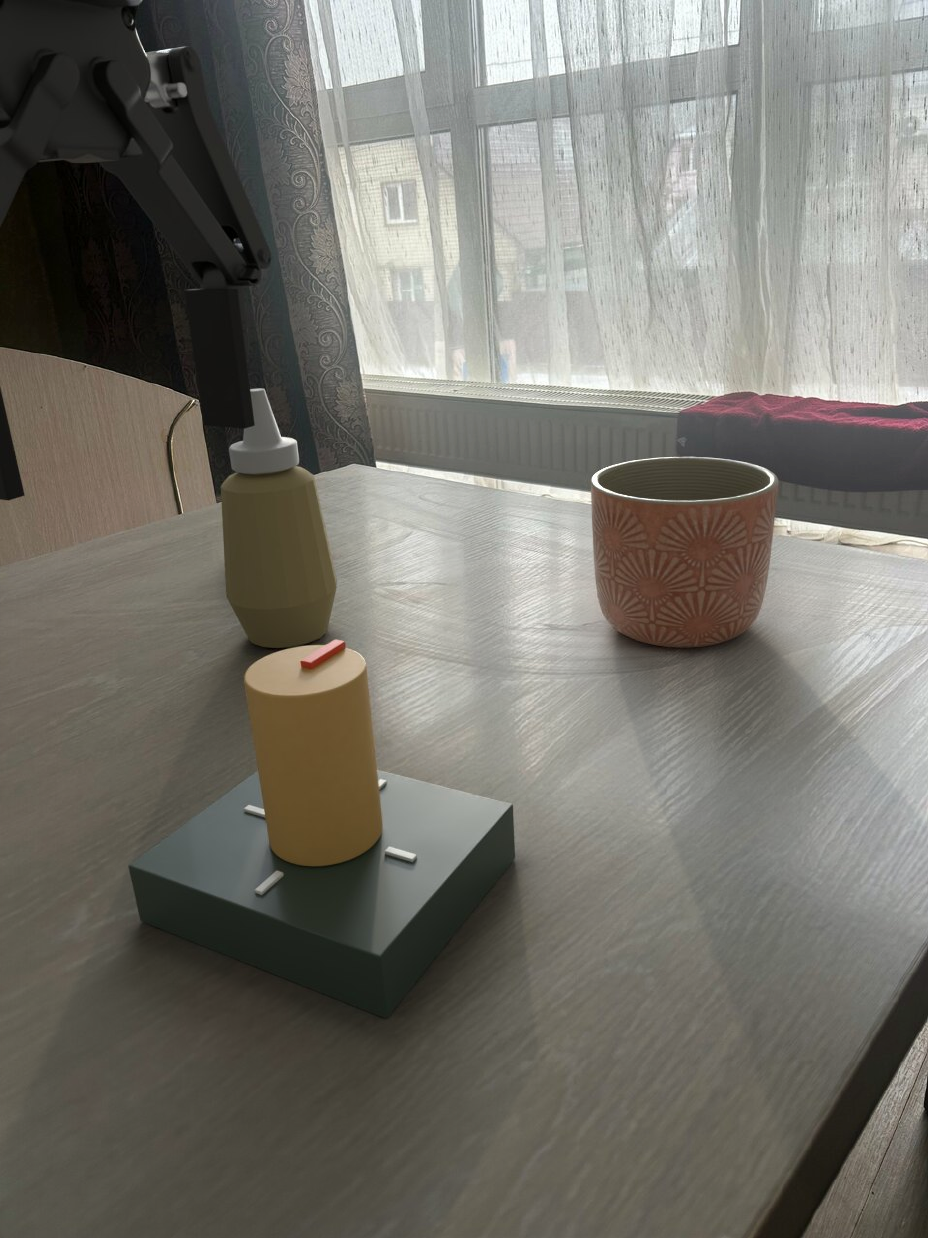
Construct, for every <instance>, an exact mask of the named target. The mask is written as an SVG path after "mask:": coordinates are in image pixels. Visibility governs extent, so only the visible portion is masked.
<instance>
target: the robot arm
mask: <svg viewBox="0 0 928 1238" xmlns="http://www.w3.org/2000/svg"><path fill="white" fill-rule="evenodd" d="M142 2H143V0H0V228H1V227H2V224H3V223H4V220H5V219H6V216H7V213H8V212H9V209H10V207H11V205H12V202H13V200H14V198H15V196H16V194H17V192H18V189H19V187H20V185H21V184H22V181H23V179H24V176H25V175H26V173H27V172H28V170H30V169H32V168H33V167H35V166H36V165H37V164H38V163H43V162H45V163H46V162H55V161H56V162H57V161H66V162H69V163H71V164H72V163H73V164H91V163H92V164H93V163H98V164H99V165H100V166H101V168H103V169H104V170H105V171H106V172H108V173H110V174H111V175H114V176H116V177H117V178H118V180H120V181H121V182H122V184H123V185H124V187H125V188H126V190H127V191H128V192H129V193H130V195H131V196H132V197H133V198H134V200H135V201H136V203H137V204H138V205H139V207H140V208H141V209H142V211H143V212H144V213H145V214H146V216H147V217H148V218H149V220H150V221H151V223H152V224H153V226H154V227H155V228H156V229H157V230H158V232H159V233H160V235H161V236H162V238H164V240H165V241H166V243H167V244H168V245H169V246H170V248H171V249H172V250H173V252H174V253H175V255H177V257H178V259H179V260H180V261H181V262H182V264H183V265H184V266H185V267H186V269H187V270H188V271H189V273H190V274H191V276H192V277H193V278H194V279H195V281H196V282H197V283H198V284H199V285H200V286H202V287H203V288H192V289H191V288H190V289H184V290H183V292H184V300H185V306H186V307H185V308H186V313H187V319H188V326H189V327H188V328H189V333H190V339H191V340H190V342H191V348H192V353H193V361H194V367H195V374H196V381H197V387H198V388H197V389H198V393H199V394H198V395H199V396H198V397H199V401H200V409H201V415H202V422H203V426H209V427H219V428H232V429H233V428H234V429H243V430H244V429H245V428H248V427H252V426H255V423H254V415H253V407H252V399H251V392H250V389H251V385H250V376H249V368H248V362H247V355H248V354H249V353H250V344H251V341H250V333H249V327H248V326H249V325H248V322H247V321H248V317H247V308H246V307H247V306H246V301H245V291H244V289H245V287H256V286H258V285H259V284H260V283H261V280H262V270H266V269H268V268H269V267H270V266H271V263H272V253H271V252H272V251H271V249H270V246H269V244H268V241H267V239H266V237H265V235H264V232H263V230H262V228H261V225H260V223H259V220H258V218H257V216H256V214H255V212H254V209H253V206H252V204H251V202H250V199H249V197H248V195H247V192H246V190H245V188H244V185H243V183H242V180H241V177H240V176H239V175H240V174H239V173H238V171H237V168H236V166H235V163H234V161H233V159H232V157H231V155H230V152H229V150H228V148H227V145H226V143H225V139H224V137H223V136H222V133H221V130H220V128H219V126H218V124H217V121H216V119H215V116H214V114H213V111H212V110H211V107H210V105H209V99H208V93H207V89H206V85H205V84H206V83H205V79H204V72H203V68H202V63H201V60H200V57H199V54H198V53H197V52H196V50H195V49H194V48H193V46H189V45H185V46H180V47H174V48H167V49H162V50H155V51H148V52H145V50H144V49H145V48H144V47H143V45H142V42H141V40H140V37H139V35H138V31H137V27H136V15H137V11H138V9H139V6H140V4H141V3H142ZM236 239H239V242H240V243H237V241H236ZM2 392H3V391H2V388H1V387H0V500H1V501H8V502H9V501H12V500H15V499H18V498H22V497H25V495H26V493H25V490H24V485H23V481H22V476H21V472H20V469H19V464H18V463H19V462H18V460H17V454H16V450H15V446H14V441H13V436H12V433H11V429H10V423H9V419H8V415H7V411H6V405H5V402H4V397H3V393H2Z"/></svg>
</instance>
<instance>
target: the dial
mask: <svg viewBox="0 0 928 1238" xmlns="http://www.w3.org/2000/svg"><path fill="white" fill-rule="evenodd" d="M367 667H368V666H367V662H366V660H365V658H364V656H362V655H361V653H360V652H357V651H355V650H353V649H350V648H348V647H347V646H346V641H345V640H341V639H336V638H335V639H333V640H332V641H330V642H328V643H327V644H310V645H300V646H294V647H289V648H286V649H282V650H279V651H276V652H272V653H270V654H268V655H265V656H263V657H262V658H260V659H258V660H257V661H254V662H253V664H250V666H249V667H248V668H247V670H246V671H245V673H244V676H243V683H244V690H245V696H246V702H247V710H248V716H249V722H250V728H251V735H252V741H253V747H254V754H255V761H256V766H257V770H258V774H259V780H260V787H261V793H262V800H263V806H264V812H265V819H266V825H267V832H268V838H269V843H270V847H271V848H272V850H273V852H274V853H275V854H276V855H277V856H278V857H280V858H281V859H283V860H285V861H287V862H290V863H293V864H296V865H302V866H328V865H334V864H338V863H342V862H345V861H348V860H351V859H353V858H355V857H357V856H359V855H361V854H363V853H364V852H366V851H367V850H369V849H370V848H371V847H372V846H373V845H374V844H375V843H376V842H377V840H378V839H379V837H380V835H381V833H382V829H383V822H382V812H381V802H380V792H379V783H378V773H377V770H378V764H377V763H378V762H377V753H376V745H375V744H376V743H375V736H374V726H373V715H372V704H371V697H370V687H369V686H370V685H369V678H368V677H369V675H368V668H367Z"/></svg>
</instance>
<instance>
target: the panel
mask: <svg viewBox="0 0 928 1238" xmlns="http://www.w3.org/2000/svg"><path fill="white" fill-rule="evenodd" d="M377 773H378V783H379V792H380V802H381V812H382V822H383V829H382V833H381V835H380V837H379V839H378V840H377V842H376V843H375V844H374V845H373V846H372V847H371V848H370V849H369V850H367V851H366V852H364V853H363V854H361V855H359V856H357V857H355V858H353V859H351V860H348V861H345V862H342V863H338V864H334V865H328V866H302V865H296V864H293V863H290V862H287V861H285V860H283V859H281V858H280V857H278V856H277V855H276V854H275V853H274V852H273V850H272V848H271V847H270V843H269V838H268V832H267V825H266V819H265V812H264V806H263V800H262V793H261V787H260V780H259V774H258V769H257V770H256V771H255V772H253V773H252V774H250V775H249V776H247V778H245V779H244V780H243V781H241V782H239V783H238V784H237V785H236V786H234V787H233V788H232V789H230V790H229V791H227V792H226V793H225V794H223V795H222V796H221V797H219V798H218V799H216V800H215V801H213V802H212V803H210V805H208V806H207V807H206V808H204V809H203V810H202V811H200V812H199V813H197V814H196V815H195V816H193V817H192V818H190V819H189V820H188V821H186V822H185V823H184V824H182V825H181V826H180V827H178V828H177V829H175V830H174V831H173V832H171V833H170V834H169V835H167V836H166V837H164V838H163V839H162V840H161V841H159V842H158V843H157V844H156V845H153V846H152V847H151V848H149V850H147V851H145V852H144V853H143V854H141V855H140V856H139V857H138V858H136V859H135V860H133V861H132V862H131V863H129V864H128V866H127V867H128V871H129V875H130V880H131V884H132V889H133V893H134V898H135V903H136V907H137V911H138V916H139V919H140V921H141V922H142V923H145V924H147V925H149V926H153V927H155V928H157V929H160V930H162V931H165V932H167V933H170V934H172V935H175V936H177V937H180V938H181V939H185V940H187V941H190V942H192V943H194V944H197V945H200V946H203V947H204V948H208V949H209V950H211V951H215V952H217V953H220V954H222V955H225V956H227V957H230V958H232V959H235V960H238V961H240V962H243V963H245V964H247V965H250V966H252V967H255V968H258V969H261V970H262V971H264V972H265V971H266V972H267V973H270V974H273V975H275V976H278V977H280V978H282V979H285V980H288V981H291V982H293V983H295V984H298V985H300V986H303V987H306V988H307V989H310V990H313V991H315V992H318V993H321V994H323V995H325V996H328V997H331V998H333V999H336V1000H339V1001H341V1002H343V1003H345V1004H349V1005H350V1006H353V1007H356V1008H358V1009H361V1010H363V1011H365V1012H368V1013H371V1014H373V1015H375V1016H379V1017H381V1018H384V1019H388V1018H389V1017H390V1016H391V1015H392V1013H393V1012H394V1011H395V1010H396V1008H397V1007H398V1006H399V1005H400V1003H401V1002H402V1001H403V999H404V998H405V997H406V996H407V995H408V993H409V992H410V991H411V990H412V988H414V986H415V984H416V983H417V982H418V981H419V980H420V978H421V977H422V976H423V974H424V973H425V972H426V971H427V969H428V968H429V967H430V966H431V964H432V963H433V962H434V961H435V959H436V958H437V957H438V956H439V954H440V953H441V952H442V951H443V949H444V948H445V947H446V946H447V944H448V943H449V942H450V940H451V939H452V938H453V937H454V935H455V934H456V933H457V932H458V930H459V929H460V928H461V927H462V925H463V924H464V923H465V922H466V920H467V919H469V917H470V916H471V914H472V913H473V912H474V910H475V909H476V908H477V907H478V906H479V905H480V904H481V902H482V901H483V899H484V898H485V897H486V896H487V894H488V893H489V892H490V891H491V889H492V888H493V887H494V886H495V884H496V883H497V882H498V880H500V878H501V877H502V876H503V874H505V872H506V870H507V869H508V868H509V866H510V865H511V864H512V863H513V862H514V861H515V859H516V848H515V847H516V844H515V822H514V821H515V820H514V804H513V803H510V802H505V801H503V800H502V801H501V800H497V799H493V798H491V797H490V798H489V797H486V796H481V795H479V794H478V795H477V794H474V793H471V792H466V791H462V790H459V789H455V788H450V787H446V786H443V785H438V784H435V783H431V782H427V781H422V780H419V779H415V778H412V777H407V776H403V775H399V774H395V773H391V772H387V771H383V770H380V769H377Z"/></svg>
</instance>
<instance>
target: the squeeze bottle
mask: <svg viewBox="0 0 928 1238" xmlns="http://www.w3.org/2000/svg"><path fill="white" fill-rule="evenodd" d="M250 392H251V399H252V407H253V415H254V423H255V426H252V427H248V428H245V429H243V436H242V437H243V440H240V441H237V442H235V443H232V444H231V445H230V446H229V448H228V453H229V460H230V466H231V470H232V471H233V472H234V473H232V474H229V475H228V477H226V479H225V480H224V481H223V483H221V486H220V498H221V517H222V519H221V520H222V539H223V559H224V561H223V562H224V576H225V577H224V578H225V580H224V581H225V597H226V599H227V602H228V604H229V605H230V607H231V609H232V611H233V613H234V614H235V616H236V618H237V620H238V621H239V623H240V625H241V628H242V629H243V631H244V633H245V635H246V637H247V639H248V640H249V641H250V642H251V643H252V645H256V646H259V647H262V648H270V649H281V648H295V647H299V646H303V645H305V644H309V643H311V642H314V641H316V640H319V639H320V638H322V637H323V636H324V635H325V634H326V633H328V629H329V624H330V621H331V616H332V610H333V606H334V602H335V597H336V592H337V588H338V587H337V586H338V578H337V574H336V569H335V564H334V559H333V555H332V551H331V545H330V541H329V536H328V532H327V528H326V523H325V518H324V514H323V509H322V505H321V501H320V497H319V492H318V488H317V482H316V477H315V475H314V474H313V473H311V472H310V471H309V470H307V469H305V468H304V467H302V466H298V465H299V463H300V457H299V450H298V449H299V448H298V441H297V440H296V439H294V438H292V437H288V436H287V437H286V436H281V432H280V430H279V426H278V423H277V422H276V421H277V420H276V419H275V415H274V412H273V410H272V407H271V404H270V401H269V398H268V395H267V393H266V390H265V388H250Z"/></svg>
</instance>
